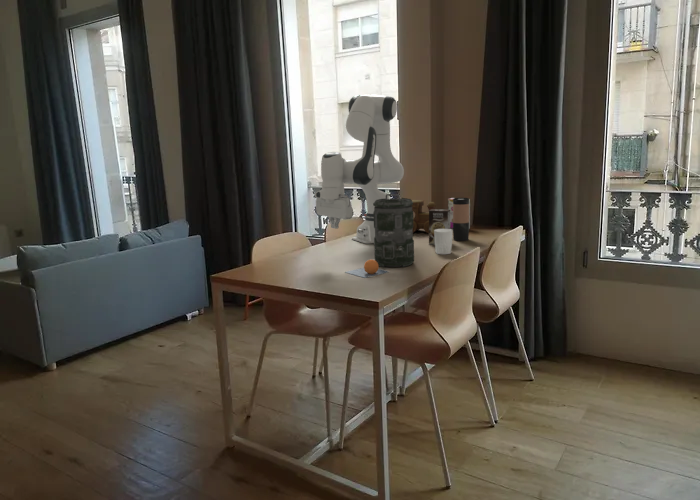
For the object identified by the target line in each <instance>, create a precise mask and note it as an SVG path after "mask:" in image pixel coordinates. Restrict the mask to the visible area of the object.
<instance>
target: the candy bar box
mask: <svg viewBox="0 0 700 500" xmlns="http://www.w3.org/2000/svg"><path fill="white" fill-rule="evenodd" d="M454 198H455V197H451V198H447V210H450V229H452V230H453V199H454ZM470 228H471V199H470V198H469V230H470Z"/></svg>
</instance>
